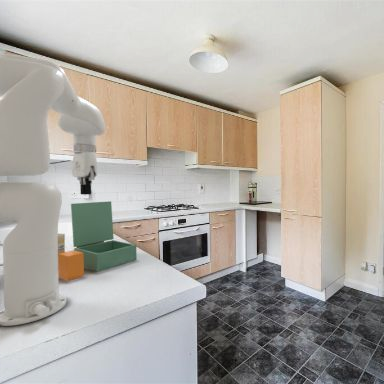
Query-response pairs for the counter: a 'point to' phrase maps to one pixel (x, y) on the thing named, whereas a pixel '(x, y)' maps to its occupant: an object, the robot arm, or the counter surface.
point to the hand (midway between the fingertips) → (85, 194)
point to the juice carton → (71, 265)
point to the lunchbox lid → (91, 222)
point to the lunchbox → (107, 254)
